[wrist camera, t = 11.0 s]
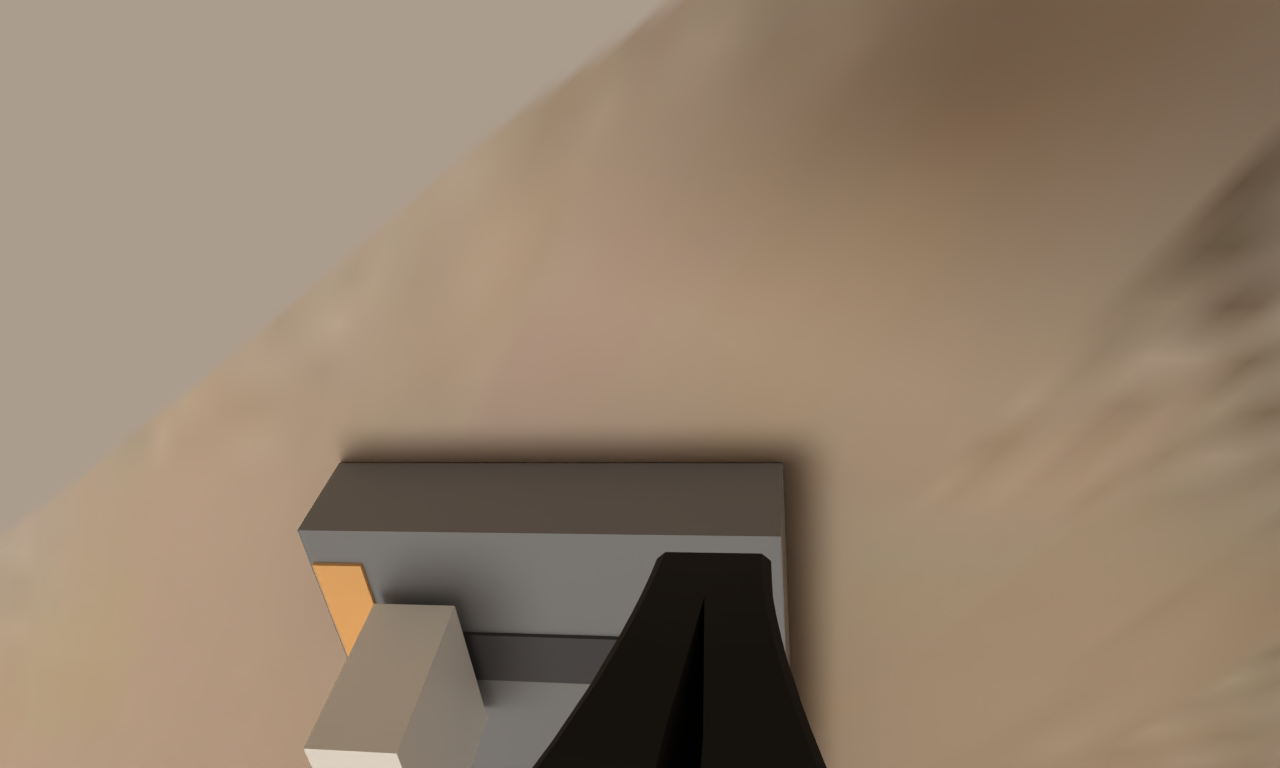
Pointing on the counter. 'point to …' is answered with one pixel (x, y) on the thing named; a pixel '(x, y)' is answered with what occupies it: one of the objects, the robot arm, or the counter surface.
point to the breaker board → (532, 564)
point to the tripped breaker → (402, 696)
